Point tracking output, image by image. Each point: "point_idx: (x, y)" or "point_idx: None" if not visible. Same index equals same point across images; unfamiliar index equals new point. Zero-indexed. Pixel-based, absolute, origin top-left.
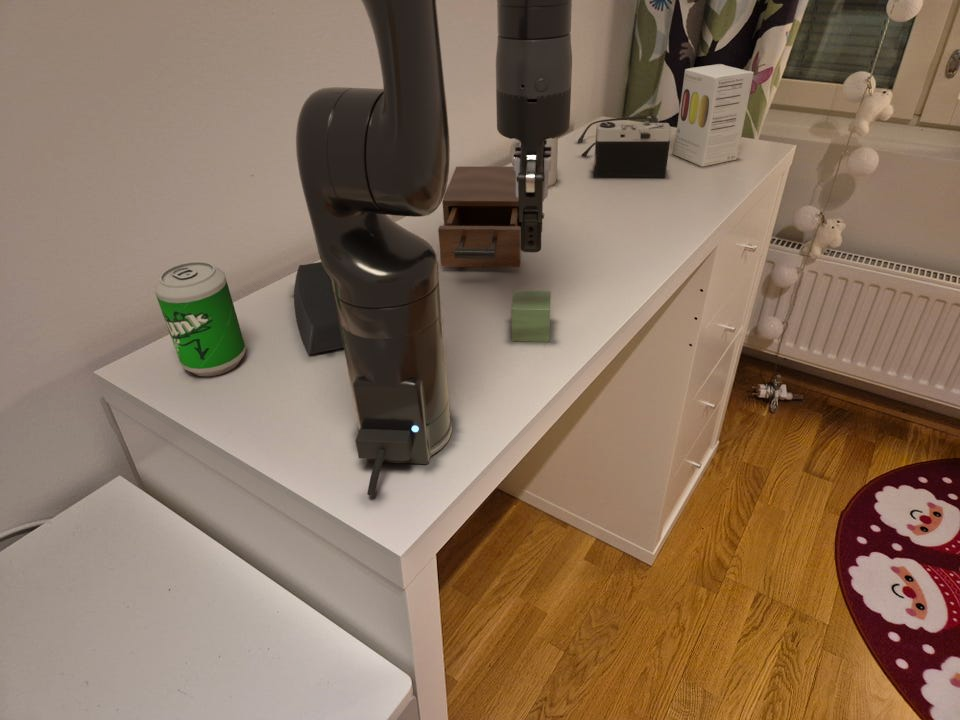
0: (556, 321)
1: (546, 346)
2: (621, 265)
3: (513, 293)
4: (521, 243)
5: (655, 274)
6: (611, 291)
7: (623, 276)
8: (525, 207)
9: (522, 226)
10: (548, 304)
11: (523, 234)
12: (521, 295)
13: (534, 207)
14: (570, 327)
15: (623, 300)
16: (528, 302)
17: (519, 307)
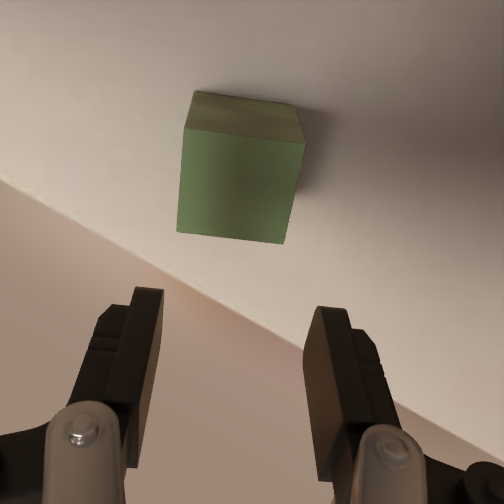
0: None
1: (168, 174)
2: (496, 361)
3: (284, 142)
4: (130, 306)
5: (432, 402)
6: (389, 328)
7: (446, 357)
8: (336, 413)
9: (109, 377)
10: (205, 231)
11: (117, 347)
12: (266, 165)
13: (325, 443)
14: None
15: None
16: (219, 181)
17: (190, 152)
